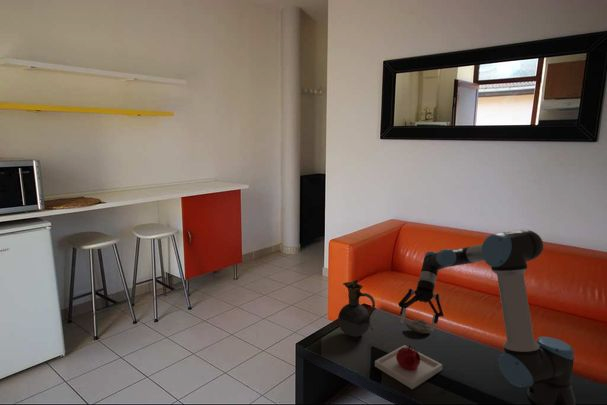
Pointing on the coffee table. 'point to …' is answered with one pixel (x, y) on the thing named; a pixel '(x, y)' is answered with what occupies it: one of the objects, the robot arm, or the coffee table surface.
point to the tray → (408, 377)
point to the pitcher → (355, 313)
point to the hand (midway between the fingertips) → (416, 326)
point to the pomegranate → (408, 358)
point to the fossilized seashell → (419, 326)
